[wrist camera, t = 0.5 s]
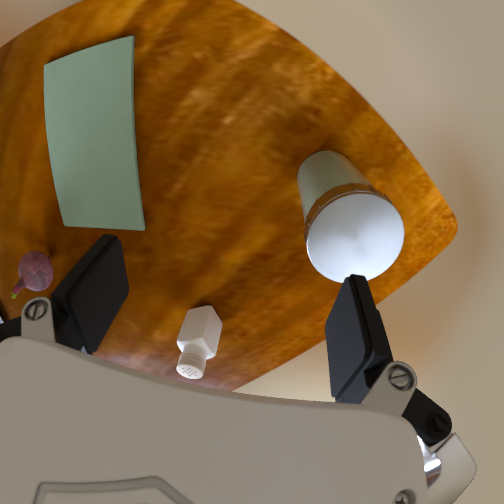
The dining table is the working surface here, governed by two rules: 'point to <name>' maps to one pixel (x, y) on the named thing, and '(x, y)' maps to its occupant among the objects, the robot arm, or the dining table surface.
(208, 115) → the dining table surface
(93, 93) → the mat
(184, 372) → the salt shaker
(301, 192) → the cylinder
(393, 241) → the lid
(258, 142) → the dining table surface
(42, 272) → the vegetable
